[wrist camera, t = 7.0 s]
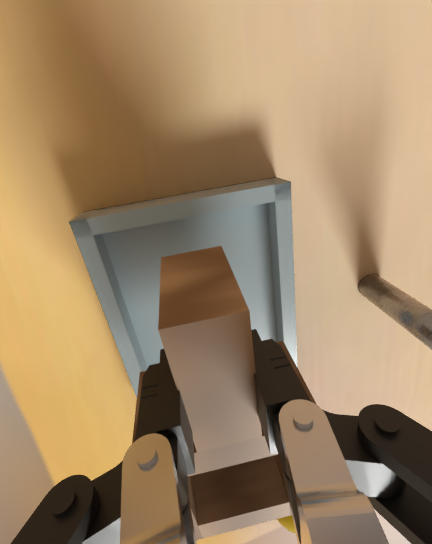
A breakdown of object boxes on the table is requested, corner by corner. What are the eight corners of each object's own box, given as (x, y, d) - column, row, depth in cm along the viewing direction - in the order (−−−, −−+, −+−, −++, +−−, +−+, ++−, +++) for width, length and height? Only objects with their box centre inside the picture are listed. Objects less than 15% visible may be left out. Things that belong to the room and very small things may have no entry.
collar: (280, 234, 12) (336, 292, 8) (285, 425, 18) (317, 508, 14) (98, 269, 11) (62, 350, 7) (171, 452, 18) (173, 545, 14)
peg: (381, 272, 23) (493, 339, 15) (379, 292, 24) (484, 367, 16) (359, 276, 23) (459, 347, 15) (357, 297, 24) (451, 375, 16)
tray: (276, 177, 19) (290, 181, 17) (287, 374, 27) (298, 395, 24) (82, 212, 18) (69, 221, 16) (151, 405, 26) (149, 430, 24)
